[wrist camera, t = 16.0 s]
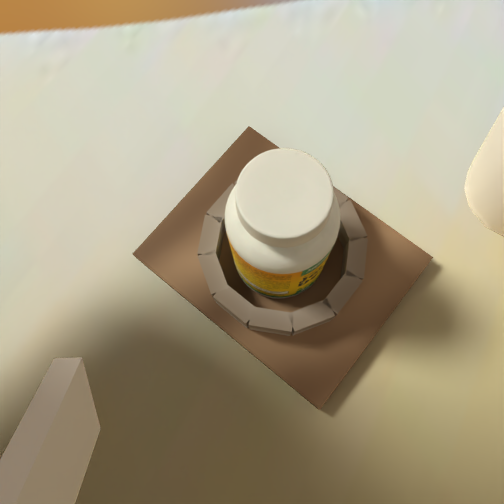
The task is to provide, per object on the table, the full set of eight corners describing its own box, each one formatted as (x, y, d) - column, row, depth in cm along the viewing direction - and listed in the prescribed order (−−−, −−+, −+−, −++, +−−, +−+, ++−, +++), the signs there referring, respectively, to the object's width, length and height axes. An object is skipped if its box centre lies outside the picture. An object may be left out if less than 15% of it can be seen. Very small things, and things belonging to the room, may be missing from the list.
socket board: (136, 258, 30) (123, 244, 27) (249, 134, 32) (247, 108, 29) (317, 409, 27) (324, 411, 24) (427, 261, 29) (445, 247, 26)
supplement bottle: (256, 200, 30) (251, 113, 20) (337, 233, 29) (371, 158, 20) (218, 279, 28) (195, 222, 19) (303, 315, 27) (322, 275, 18)
